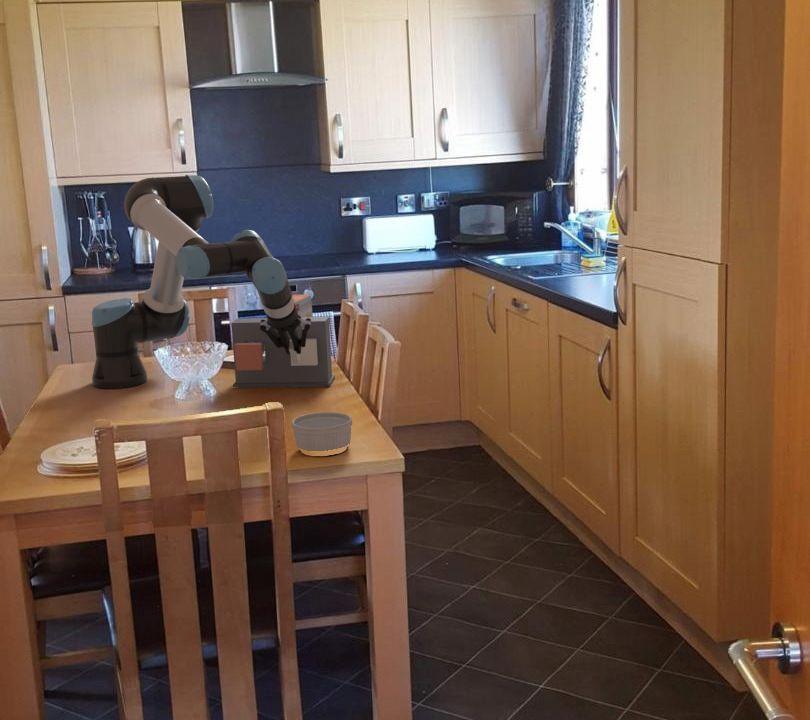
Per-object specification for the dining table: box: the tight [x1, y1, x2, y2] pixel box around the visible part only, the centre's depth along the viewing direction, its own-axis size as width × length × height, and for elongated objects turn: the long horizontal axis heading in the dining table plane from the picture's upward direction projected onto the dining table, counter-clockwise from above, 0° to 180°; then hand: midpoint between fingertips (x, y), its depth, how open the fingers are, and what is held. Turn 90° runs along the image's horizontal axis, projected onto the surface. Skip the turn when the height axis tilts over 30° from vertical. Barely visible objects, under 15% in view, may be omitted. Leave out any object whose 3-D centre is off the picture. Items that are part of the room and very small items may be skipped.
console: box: [230, 316, 336, 389], centre depth 278 cm, size 9×27×18 cm, turn 85°
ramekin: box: [291, 411, 353, 451], centre depth 220 cm, size 13×13×7 cm
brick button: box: [234, 341, 265, 370], centre depth 273 cm, size 10×7×7 cm, turn 175°
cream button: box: [290, 338, 318, 366], centre depth 276 cm, size 10×7×7 cm, turn 175°
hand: (296, 358), depth 262 cm, fingers closed
